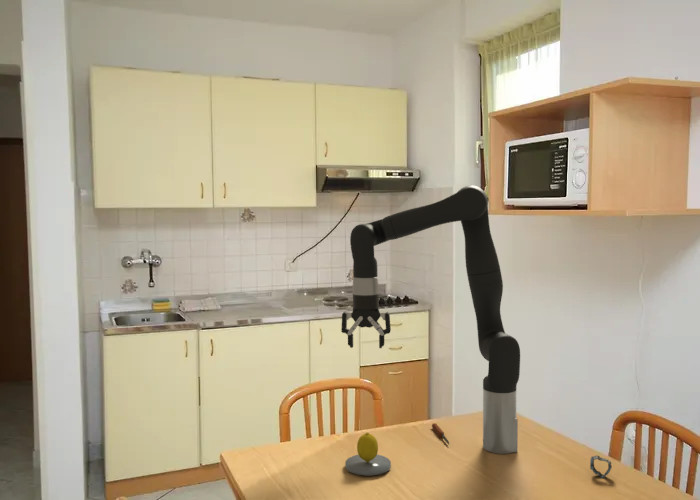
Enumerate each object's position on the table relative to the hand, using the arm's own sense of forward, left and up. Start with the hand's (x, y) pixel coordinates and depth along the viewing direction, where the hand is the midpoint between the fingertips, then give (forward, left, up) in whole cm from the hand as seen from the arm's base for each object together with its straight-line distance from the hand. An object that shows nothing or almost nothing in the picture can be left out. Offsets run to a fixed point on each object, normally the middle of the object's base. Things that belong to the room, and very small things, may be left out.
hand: (366, 347), depth 182 cm
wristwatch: (-61, +19, -28) cm, 70 cm away
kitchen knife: (-22, -5, -28) cm, 36 cm away
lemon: (-2, +19, -27) cm, 33 cm away
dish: (-2, +19, -28) cm, 34 cm away
